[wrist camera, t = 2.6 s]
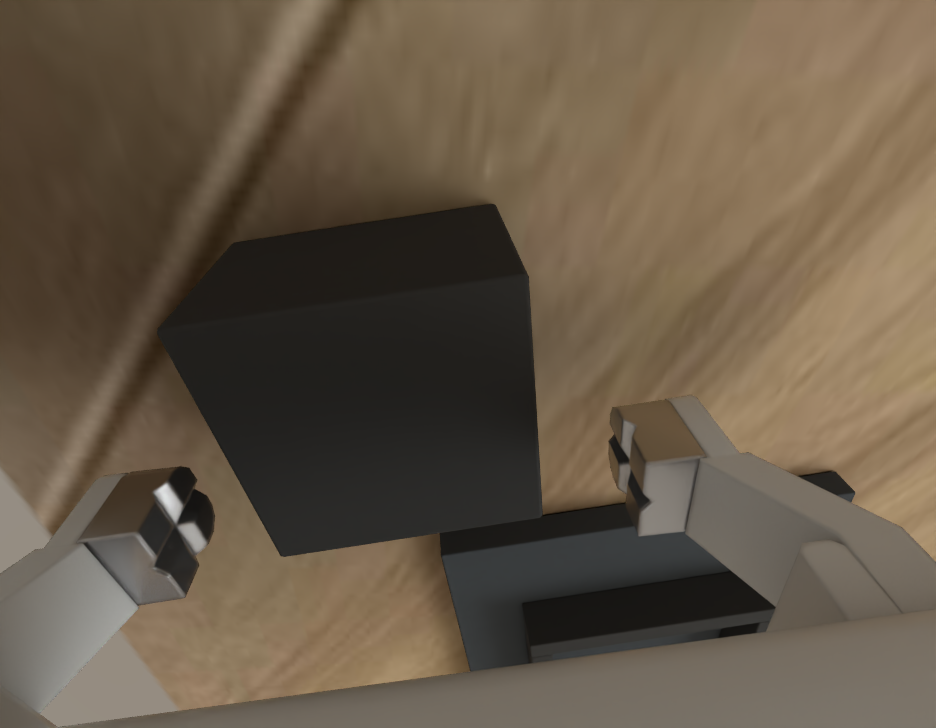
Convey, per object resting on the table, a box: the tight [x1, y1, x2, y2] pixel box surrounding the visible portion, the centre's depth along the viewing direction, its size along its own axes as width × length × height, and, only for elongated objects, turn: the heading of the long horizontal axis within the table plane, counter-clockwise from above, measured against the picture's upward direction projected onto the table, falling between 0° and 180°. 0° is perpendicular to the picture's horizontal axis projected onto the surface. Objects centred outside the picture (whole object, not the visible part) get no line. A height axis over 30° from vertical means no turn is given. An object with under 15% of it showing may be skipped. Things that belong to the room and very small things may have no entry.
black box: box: [157, 204, 543, 557], centre depth 11 cm, size 6×6×4 cm
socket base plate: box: [440, 472, 855, 671], centre depth 21 cm, size 14×16×3 cm
